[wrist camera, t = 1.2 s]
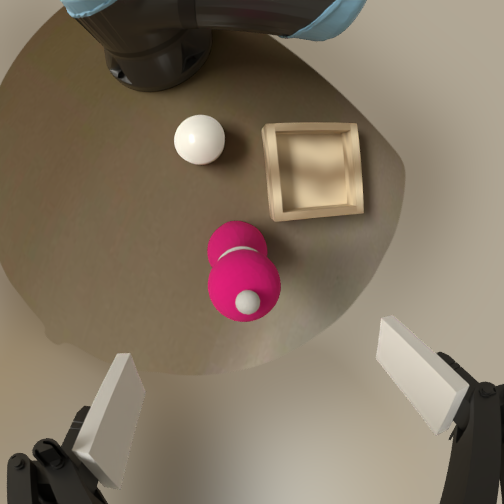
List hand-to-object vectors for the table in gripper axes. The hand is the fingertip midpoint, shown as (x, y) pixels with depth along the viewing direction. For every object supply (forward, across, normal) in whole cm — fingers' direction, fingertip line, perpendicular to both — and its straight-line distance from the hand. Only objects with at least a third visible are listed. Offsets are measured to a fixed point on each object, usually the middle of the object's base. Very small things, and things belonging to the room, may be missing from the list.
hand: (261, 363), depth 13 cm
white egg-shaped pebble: (+26, -3, +14) cm, 30 cm away
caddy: (+26, +11, +9) cm, 30 cm away
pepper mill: (+26, 0, 0) cm, 27 cm away
